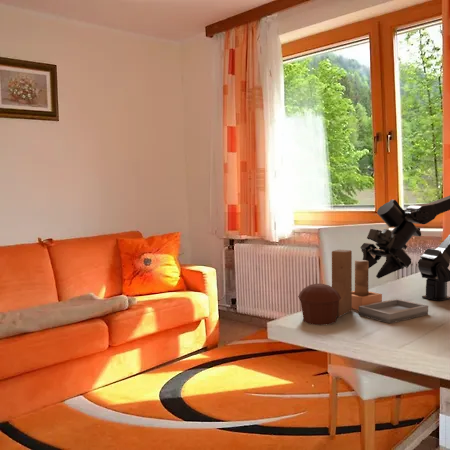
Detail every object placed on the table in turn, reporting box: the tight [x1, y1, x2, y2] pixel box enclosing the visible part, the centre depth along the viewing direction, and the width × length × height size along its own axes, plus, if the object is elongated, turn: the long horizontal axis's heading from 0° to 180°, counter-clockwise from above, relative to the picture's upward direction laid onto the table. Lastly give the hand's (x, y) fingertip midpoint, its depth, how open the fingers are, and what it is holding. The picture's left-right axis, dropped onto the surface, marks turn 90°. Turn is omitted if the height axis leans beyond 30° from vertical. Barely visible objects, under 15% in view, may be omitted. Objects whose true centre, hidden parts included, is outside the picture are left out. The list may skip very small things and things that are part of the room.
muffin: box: [298, 283, 341, 326], centre depth 140 cm, size 12×11×10 cm
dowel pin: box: [354, 259, 370, 297], centre depth 155 cm, size 4×4×14 cm
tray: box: [358, 298, 429, 324], centre depth 145 cm, size 16×11×2 cm
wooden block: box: [331, 249, 353, 318], centre depth 148 cm, size 9×4×18 cm, turn 143°
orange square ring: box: [352, 290, 383, 311], centre depth 155 cm, size 8×8×4 cm
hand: (368, 275), depth 156 cm, fingers open, 9 cm apart
